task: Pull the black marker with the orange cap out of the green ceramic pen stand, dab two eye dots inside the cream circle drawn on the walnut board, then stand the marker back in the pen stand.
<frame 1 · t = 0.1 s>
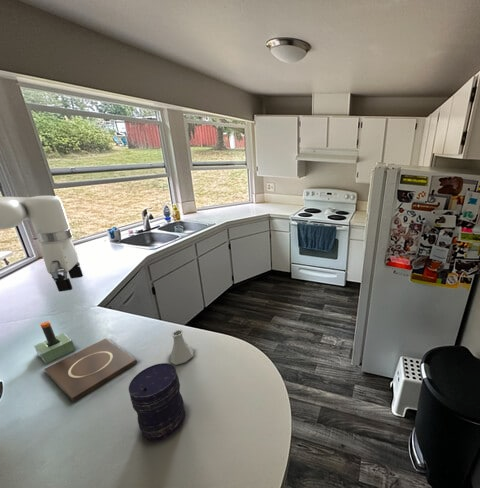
hand: (71, 283, 84), 23 cm above the table, tool pointing down, fingers open, 9 cm apart
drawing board: (92, 367, 80), on the table
storage jar: (164, 422, 65), on the table
flask: (182, 357, 86), on the table
marker: (51, 338, 83), in the pen stand
pen stand: (57, 352, 85), on the table
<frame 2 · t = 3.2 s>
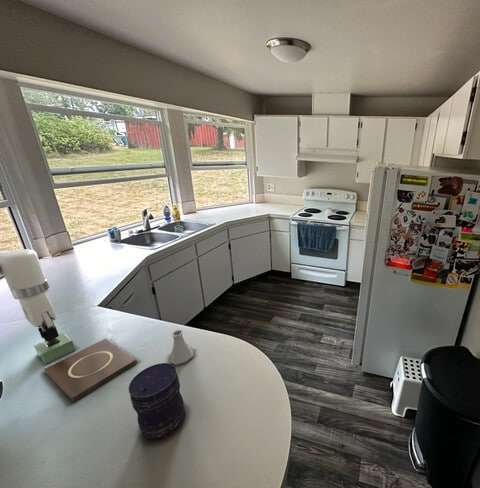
hand: (50, 336, 83), 7 cm above the table, tool pointing down, fingers closed on marker, 2 cm apart
marker: (51, 338, 83), in the pen stand, touching gripper
everything else where it was.
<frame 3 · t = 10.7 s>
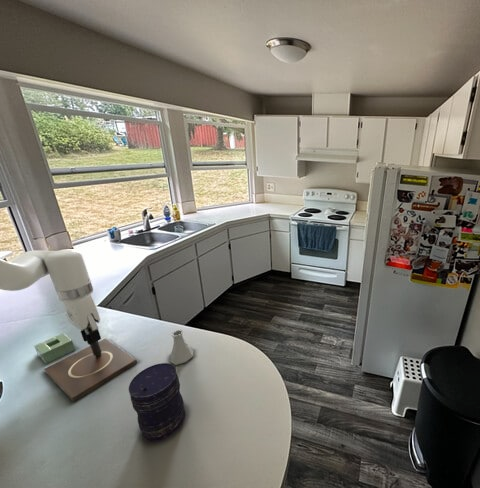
hand: (92, 339, 80), 8 cm above the table, tool pointing down, fingers closed on marker, 2 cm apart
marker: (93, 341, 81), point 8 cm above the table, touching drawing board, gripper
everything else where it was.
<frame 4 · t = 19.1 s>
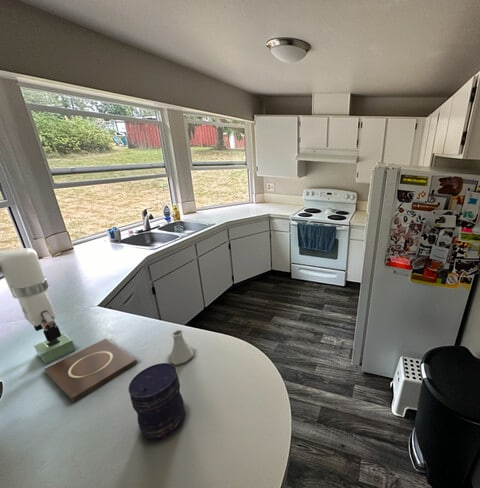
hand: (48, 333, 83), 8 cm above the table, tool pointing down, fingers open, 9 cm apart
marker: (52, 337, 84), in the pen stand
everything else where it was.
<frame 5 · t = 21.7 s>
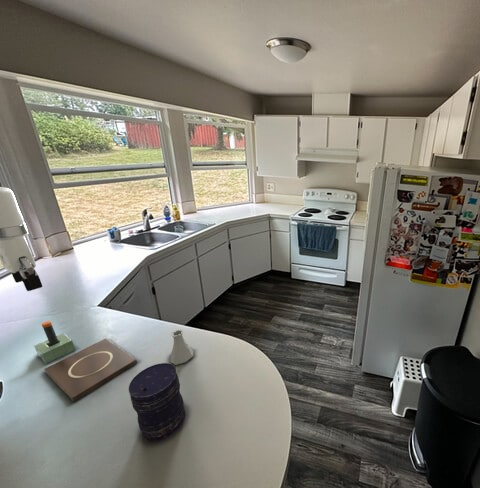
hand: (29, 284, 77), 26 cm above the table, tool pointing down, fingers open, 9 cm apart
nothing on the table moved.
at the end: marker 0.3 cm off-centre in the pen stand, point 6.0 cm above the pen stand's base; marker tilted 0°; the gripper is holding nothing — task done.
